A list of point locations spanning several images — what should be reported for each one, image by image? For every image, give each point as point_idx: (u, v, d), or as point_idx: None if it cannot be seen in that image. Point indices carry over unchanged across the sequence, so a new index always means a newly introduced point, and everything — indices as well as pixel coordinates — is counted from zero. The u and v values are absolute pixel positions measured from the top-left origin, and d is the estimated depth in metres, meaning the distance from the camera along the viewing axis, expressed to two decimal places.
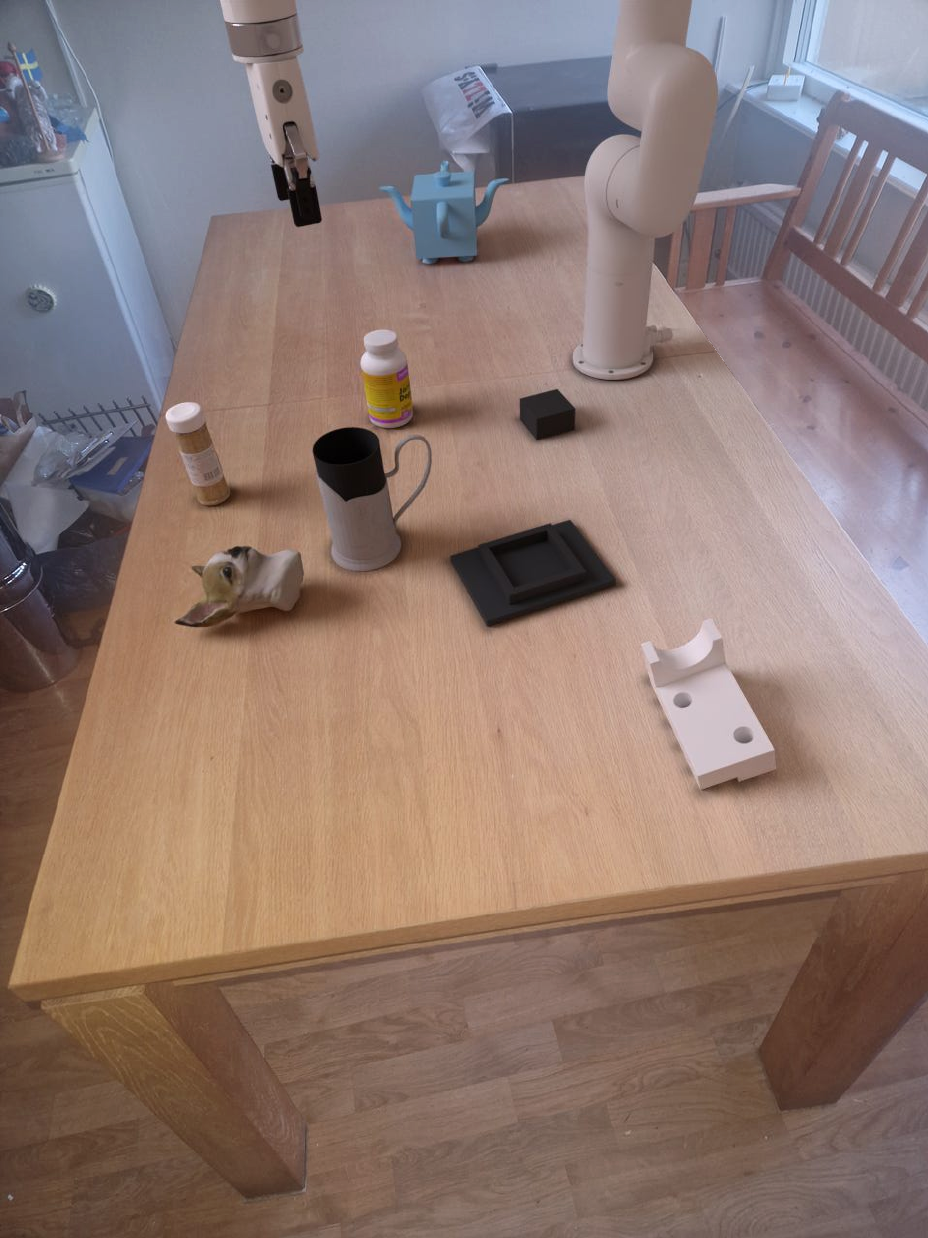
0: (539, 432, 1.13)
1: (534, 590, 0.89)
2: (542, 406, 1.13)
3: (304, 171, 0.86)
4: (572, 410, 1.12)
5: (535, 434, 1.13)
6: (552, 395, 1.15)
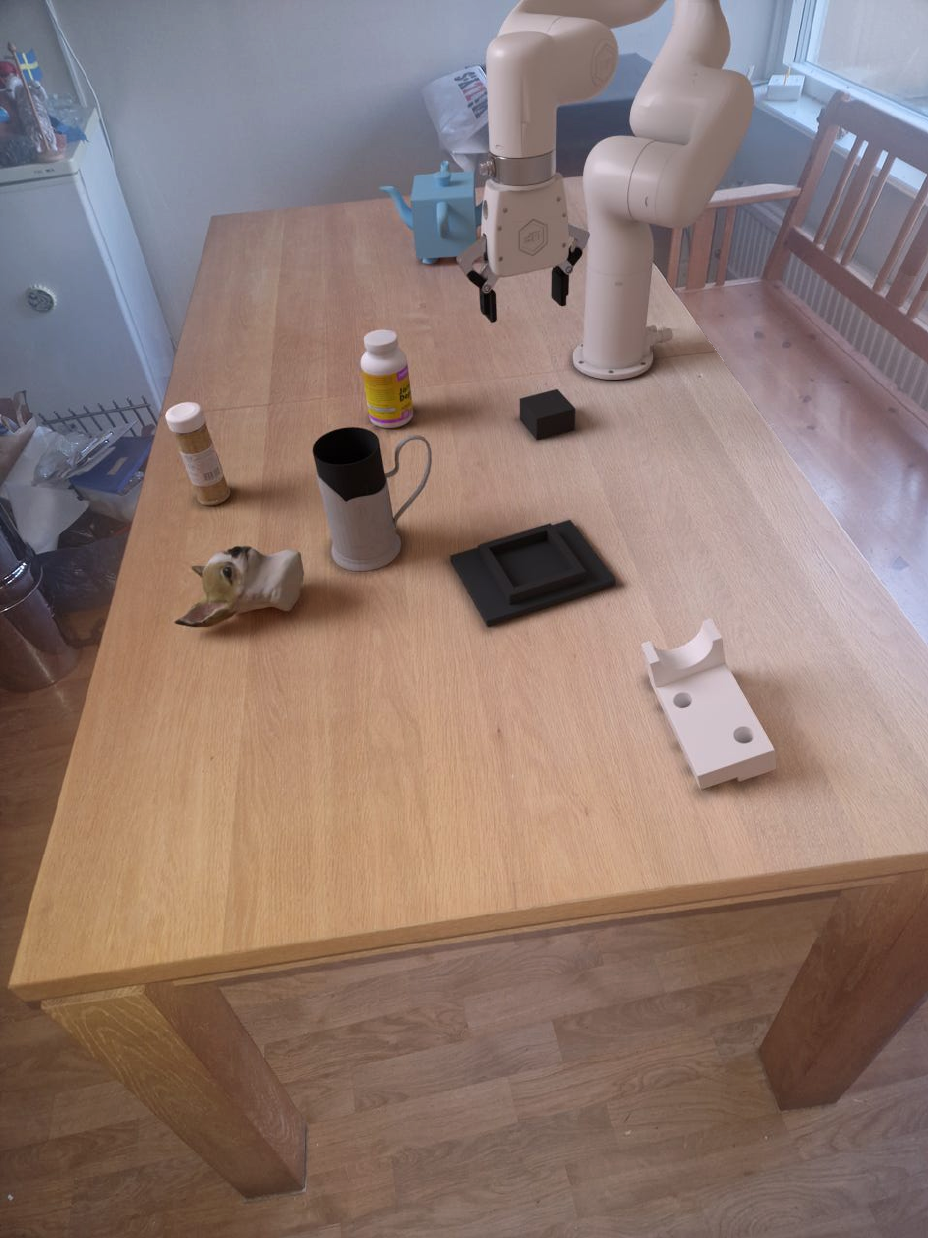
0: (539, 432, 1.13)
1: (534, 590, 0.89)
2: (542, 406, 1.13)
3: (465, 274, 0.98)
4: (572, 410, 1.12)
5: (535, 434, 1.13)
6: (552, 395, 1.15)
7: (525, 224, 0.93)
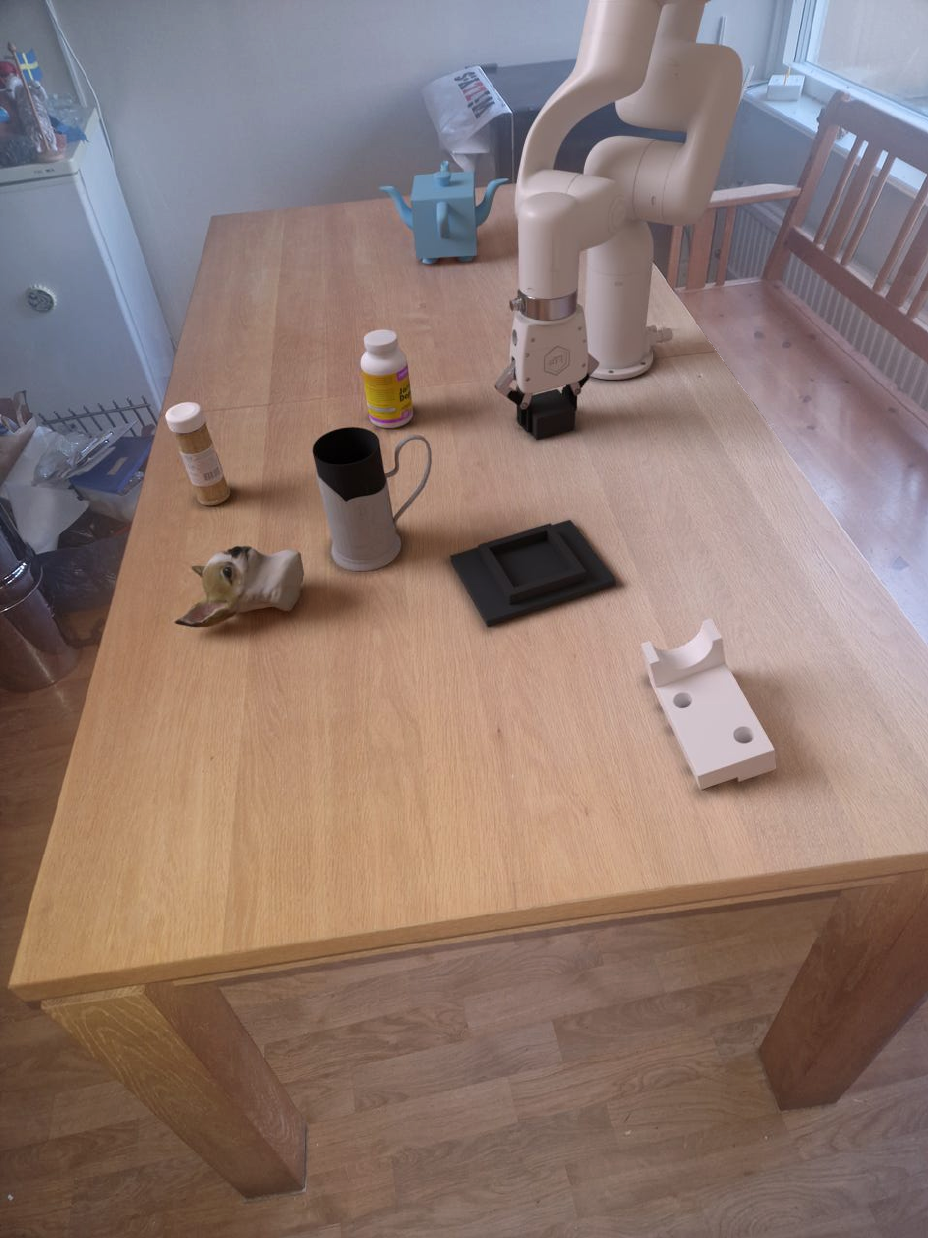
0: (538, 433, 1.13)
1: (534, 590, 0.89)
2: (541, 406, 1.13)
3: (505, 396, 1.10)
4: (571, 410, 1.12)
5: (535, 434, 1.13)
6: (552, 395, 1.15)
7: (550, 350, 1.05)
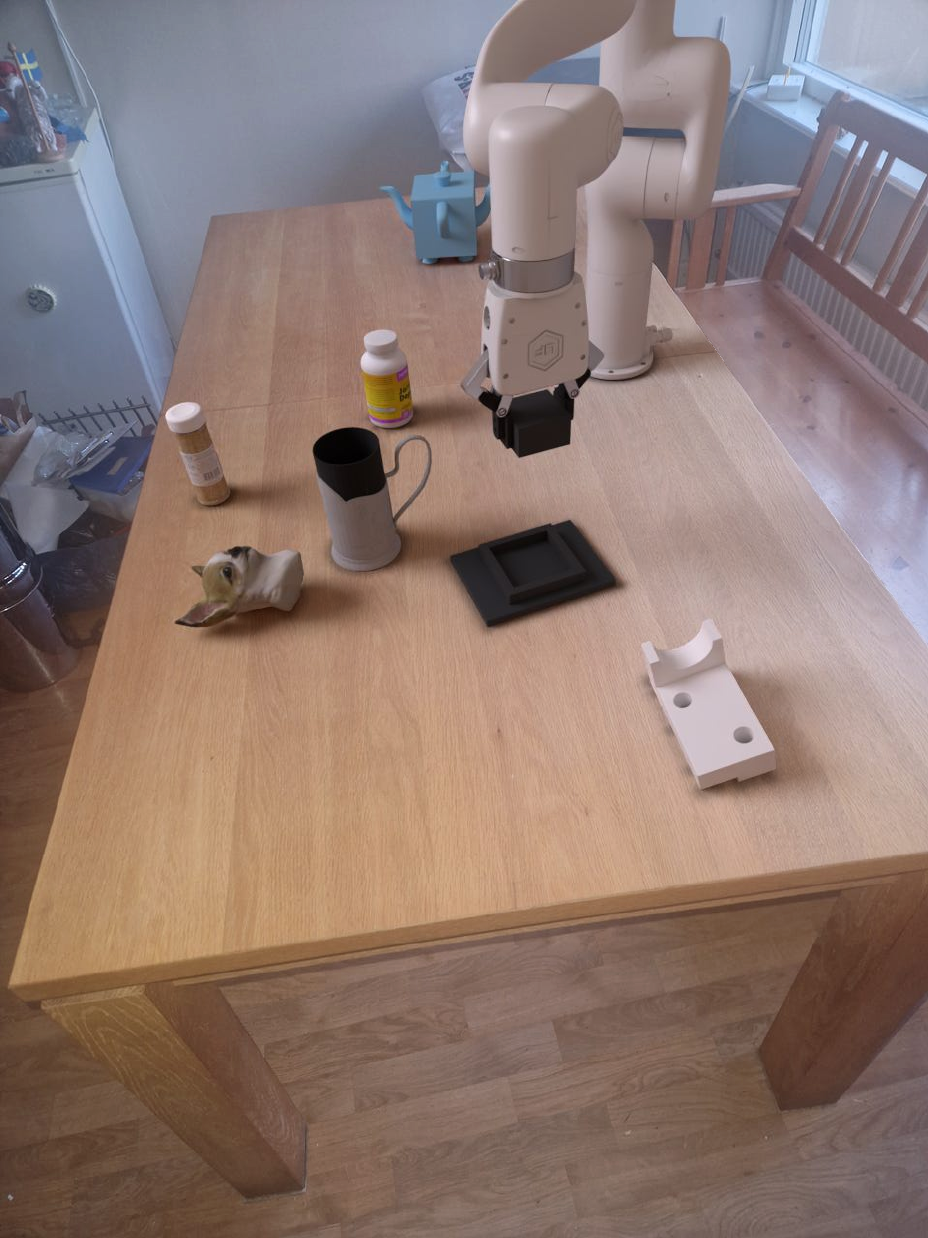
0: (522, 448, 0.83)
1: (534, 590, 0.89)
2: (526, 413, 0.84)
3: None
4: (566, 419, 0.83)
5: (517, 450, 0.84)
6: (540, 398, 0.86)
7: (536, 336, 0.75)
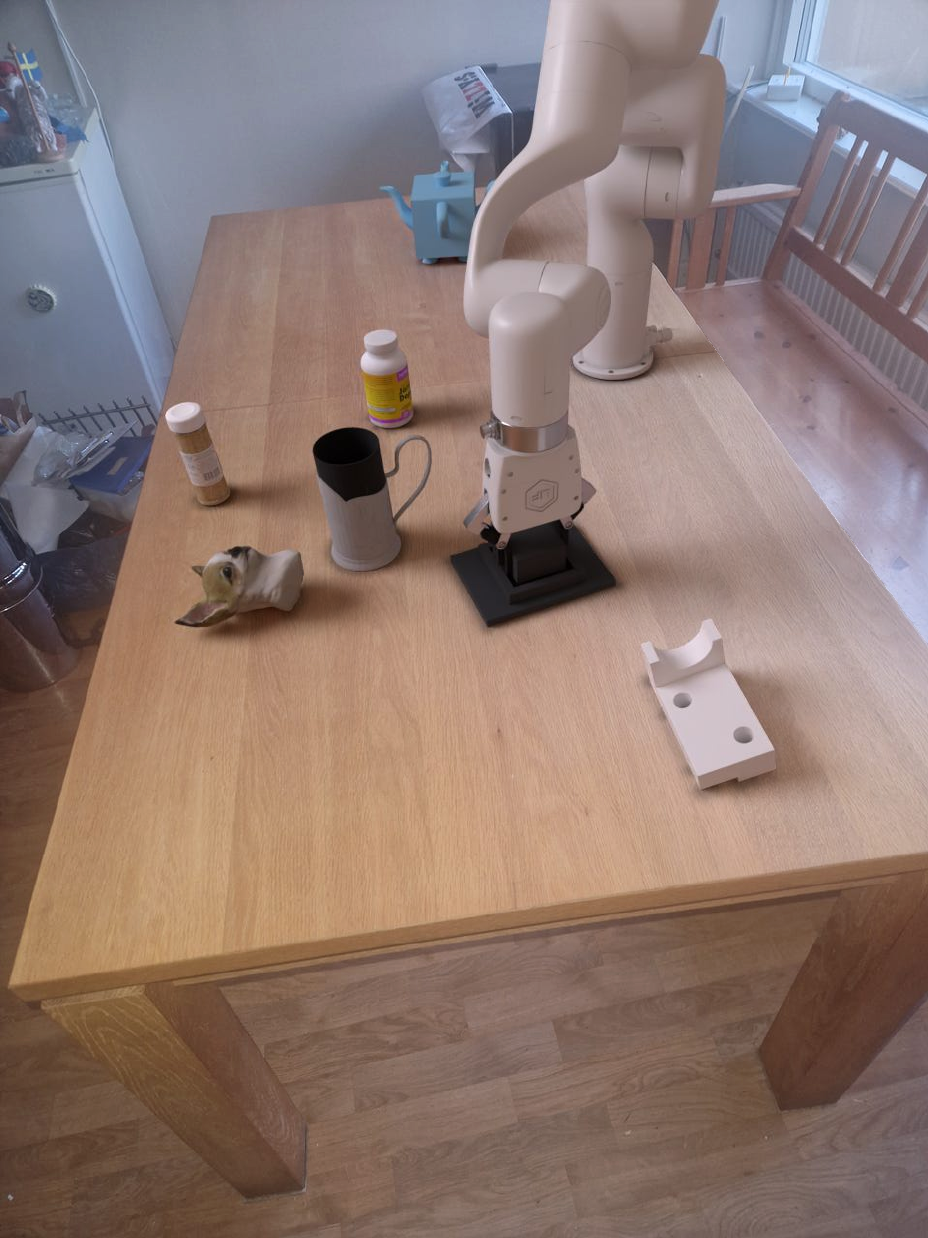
0: (520, 576, 0.90)
1: (534, 590, 0.89)
2: (524, 542, 0.90)
3: None
4: (561, 549, 0.89)
5: (515, 577, 0.90)
6: None
7: (533, 485, 0.81)
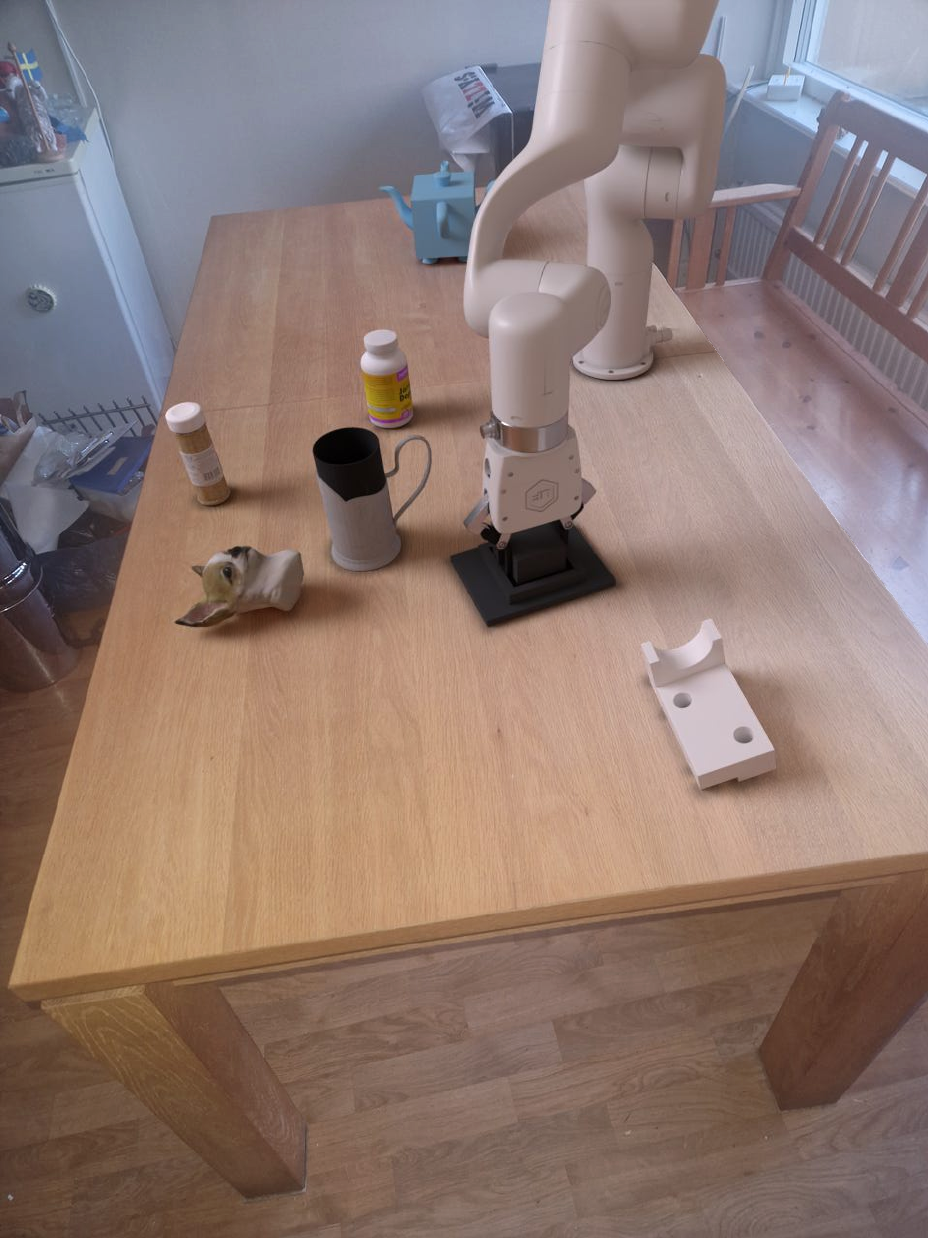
0: (520, 576, 0.90)
1: (534, 590, 0.89)
2: (524, 542, 0.90)
3: None
4: (562, 549, 0.89)
5: (515, 577, 0.90)
6: (537, 526, 0.92)
7: (533, 485, 0.82)
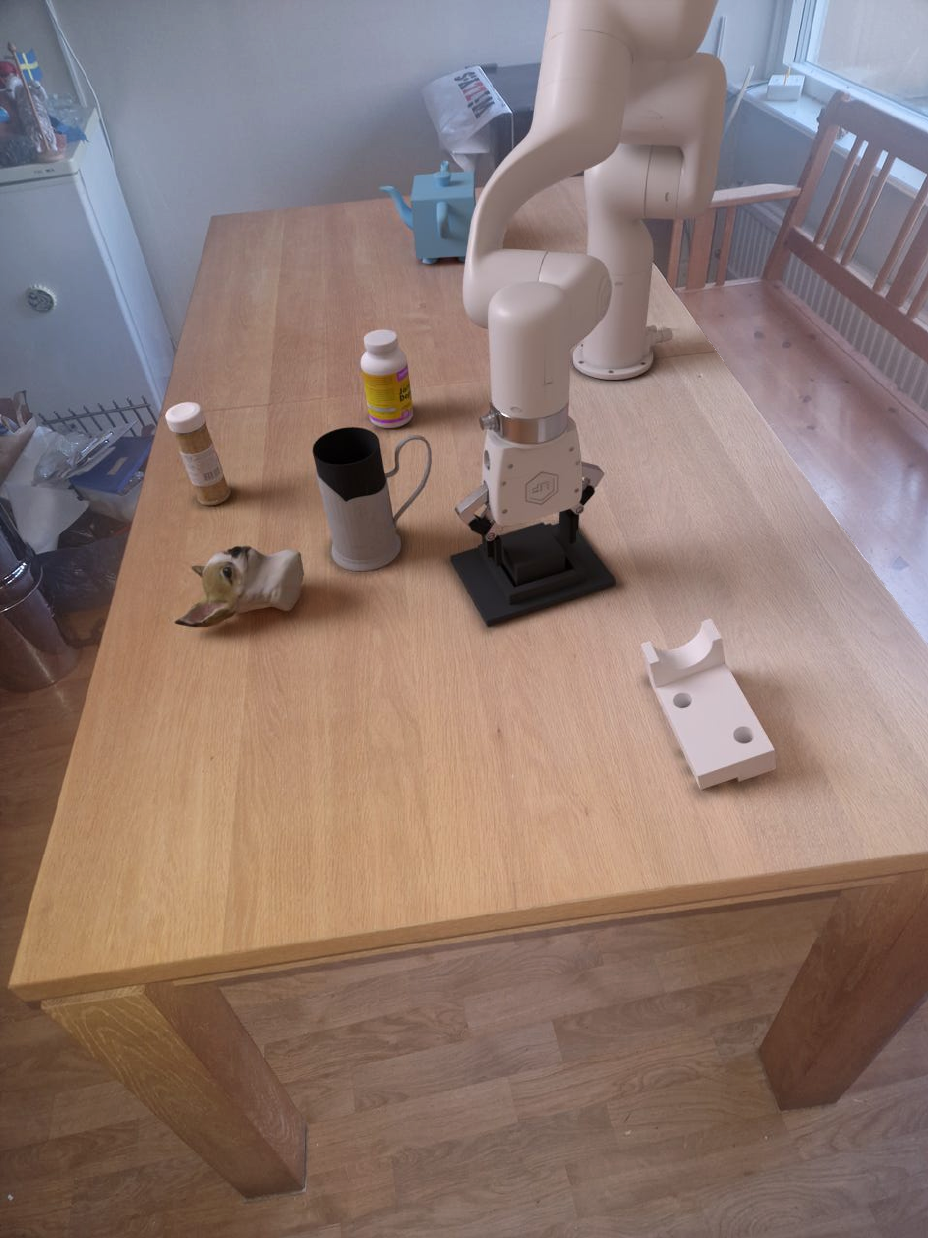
0: (520, 582, 0.90)
1: (534, 590, 0.89)
2: (523, 549, 0.91)
3: (466, 523, 0.85)
4: (561, 555, 0.90)
5: (515, 583, 0.91)
6: (537, 532, 0.93)
7: (533, 477, 0.81)
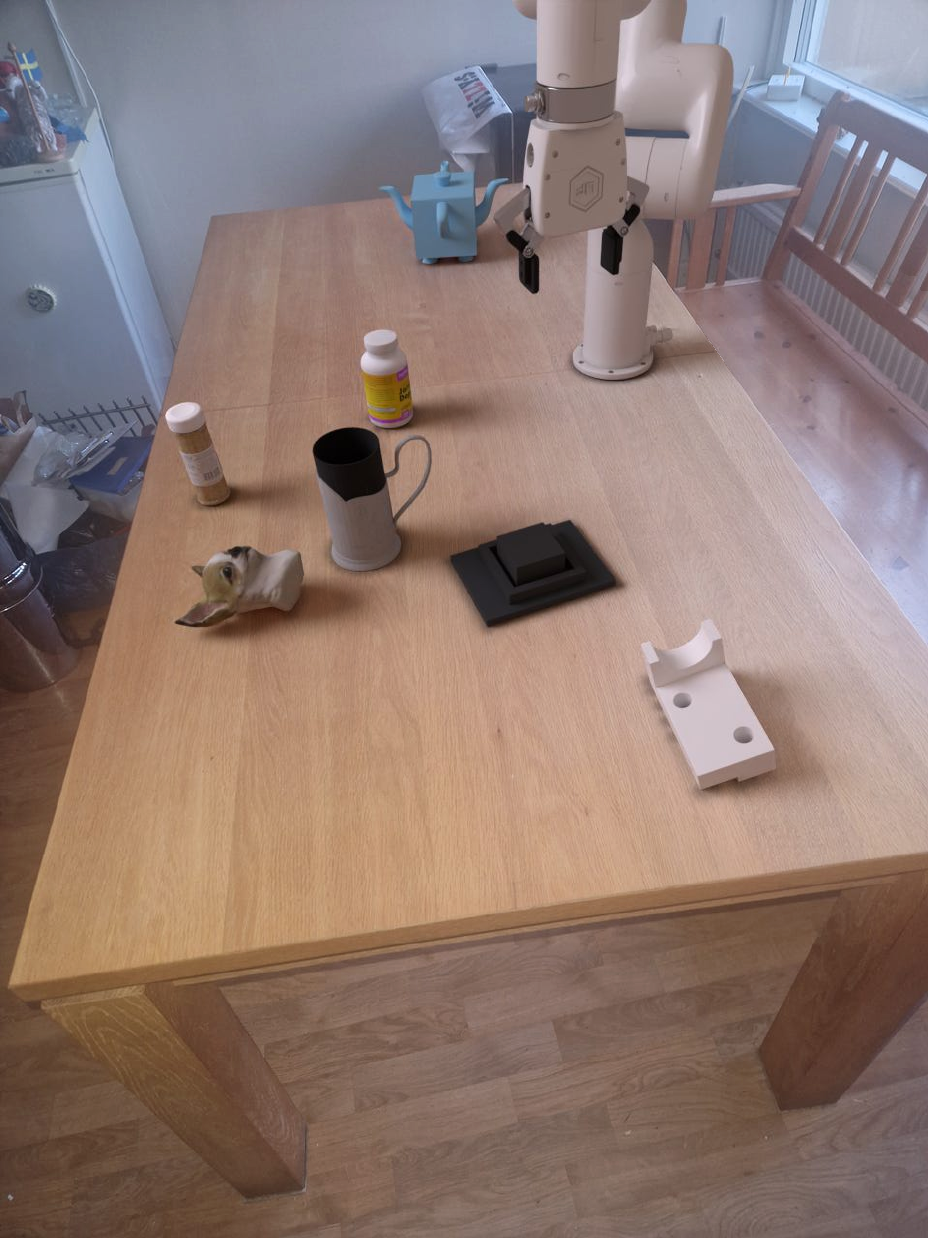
0: (520, 582, 0.90)
1: (534, 590, 0.89)
2: (523, 549, 0.91)
3: (503, 235, 0.82)
4: (561, 555, 0.90)
5: (515, 583, 0.91)
6: (537, 532, 0.93)
7: (578, 172, 0.78)
